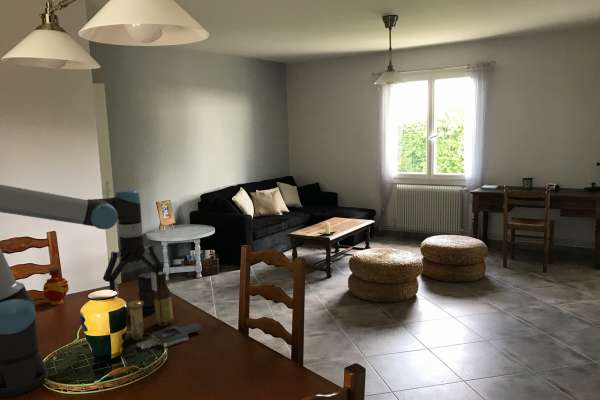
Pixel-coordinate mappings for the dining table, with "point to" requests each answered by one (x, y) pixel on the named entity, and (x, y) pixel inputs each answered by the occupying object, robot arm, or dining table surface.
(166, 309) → the sauce bottle
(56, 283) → the potion bottle
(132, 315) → the pin
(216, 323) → the dining table surface
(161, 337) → the dark grey flat piece
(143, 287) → the camera lens
